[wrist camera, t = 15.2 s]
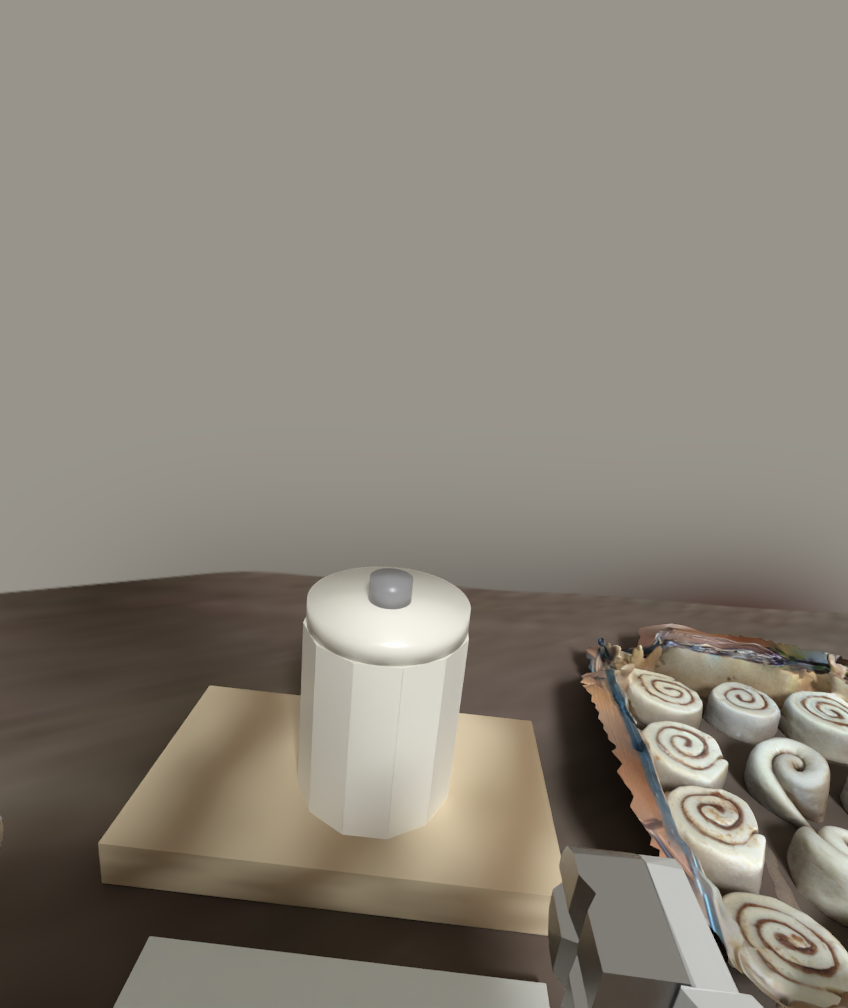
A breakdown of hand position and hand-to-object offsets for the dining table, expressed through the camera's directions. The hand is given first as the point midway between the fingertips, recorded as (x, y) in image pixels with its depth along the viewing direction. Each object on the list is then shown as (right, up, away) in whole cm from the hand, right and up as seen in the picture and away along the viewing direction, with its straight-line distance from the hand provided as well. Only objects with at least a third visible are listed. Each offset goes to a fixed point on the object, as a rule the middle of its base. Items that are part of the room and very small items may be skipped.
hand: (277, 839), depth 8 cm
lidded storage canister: (0, -8, +18) cm, 19 cm away
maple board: (-1, -10, +18) cm, 21 cm away
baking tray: (+21, -12, +21) cm, 32 cm away
